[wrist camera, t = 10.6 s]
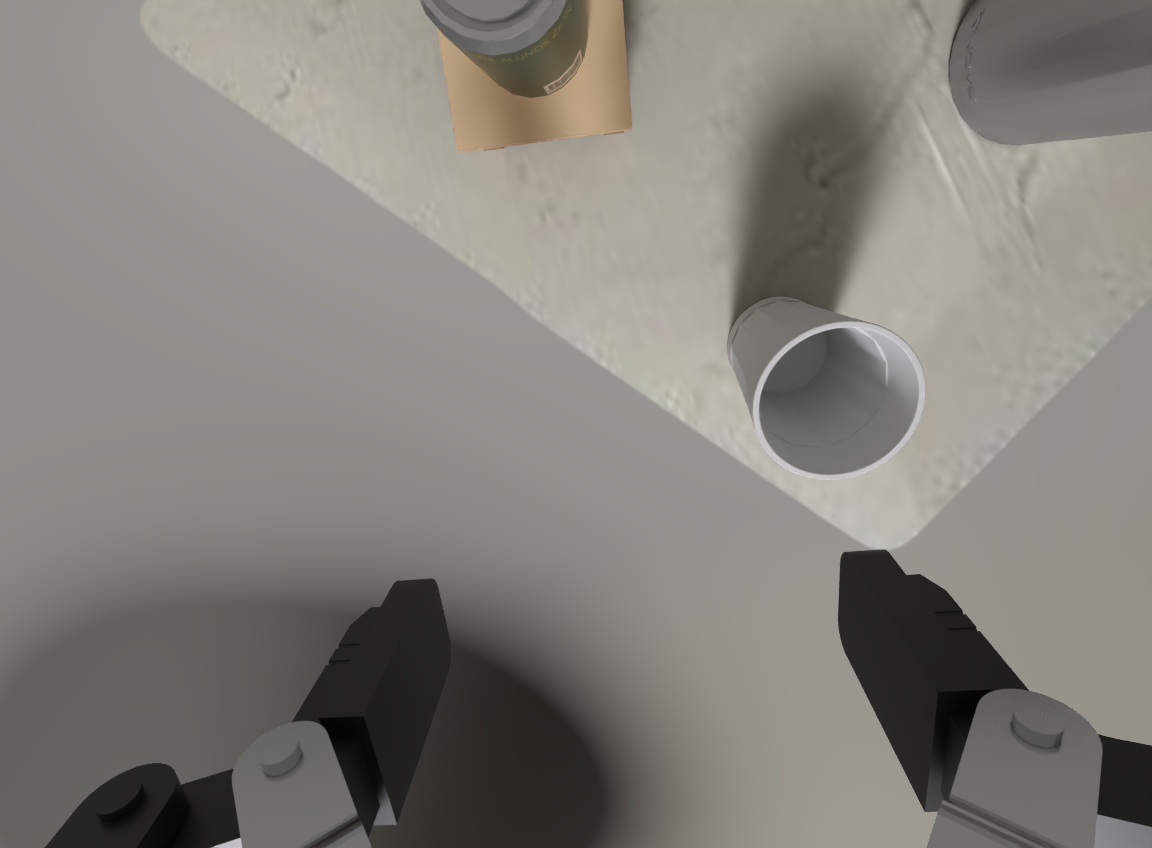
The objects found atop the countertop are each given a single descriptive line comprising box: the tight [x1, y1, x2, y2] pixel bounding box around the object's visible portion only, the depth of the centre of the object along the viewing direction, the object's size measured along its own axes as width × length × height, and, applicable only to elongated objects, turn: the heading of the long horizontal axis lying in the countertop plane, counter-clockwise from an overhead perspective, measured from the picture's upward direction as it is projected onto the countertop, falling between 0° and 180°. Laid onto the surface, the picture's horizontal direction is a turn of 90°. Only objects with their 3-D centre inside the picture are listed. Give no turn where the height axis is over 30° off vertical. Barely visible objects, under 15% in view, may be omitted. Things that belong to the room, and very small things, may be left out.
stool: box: [437, 0, 632, 152], centre depth 33 cm, size 9×9×6 cm
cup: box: [727, 296, 926, 480], centre depth 35 cm, size 8×8×12 cm
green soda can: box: [420, 0, 588, 98], centre depth 24 cm, size 5×5×12 cm
